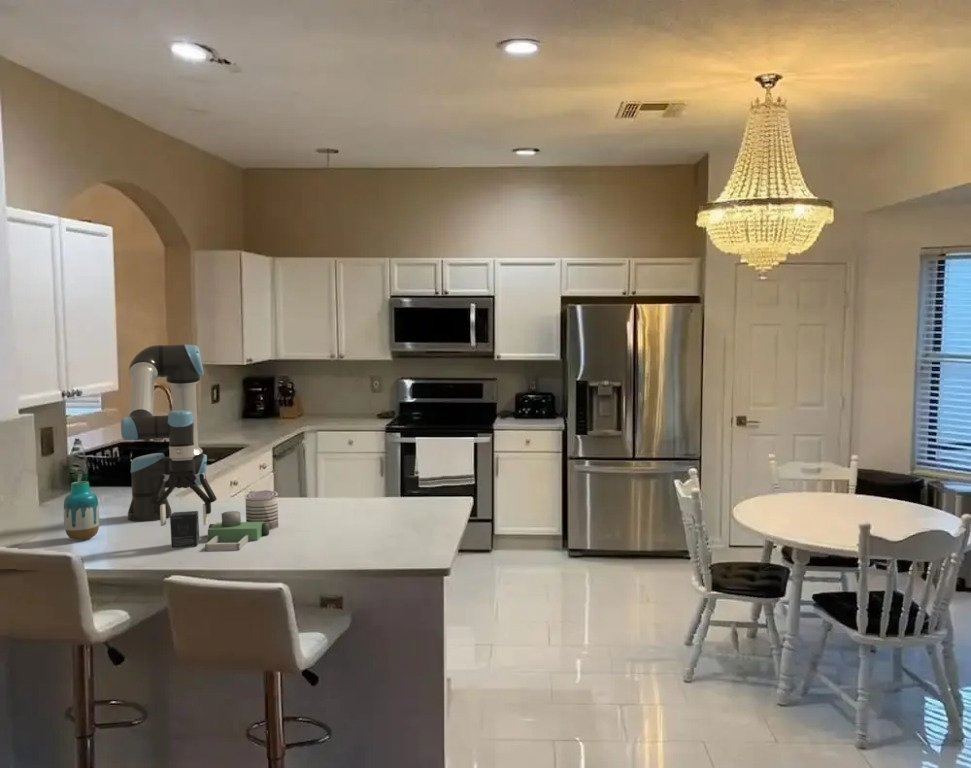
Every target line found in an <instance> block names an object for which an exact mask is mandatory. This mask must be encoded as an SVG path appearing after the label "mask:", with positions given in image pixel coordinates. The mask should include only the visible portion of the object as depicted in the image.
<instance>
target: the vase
mask: <svg viewBox="0 0 971 768" xmlns="http://www.w3.org/2000/svg"><path fill="white" fill-rule="evenodd" d="M99 509H100V507H99V500H98V496H97V494H96V493H94V492H92V491H91V489H90V482H89V481H75V482H71V484H70V492H69V494H67V495H66V496H65V498H64V500H63V523H64V530H65V534H66V535H67V536H68V538H70V539H72V540H76V541H84V540H87V539H91V538H93V537H94V536H96V535H97V534H98V531H99V528H100V510H99Z"/></svg>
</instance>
